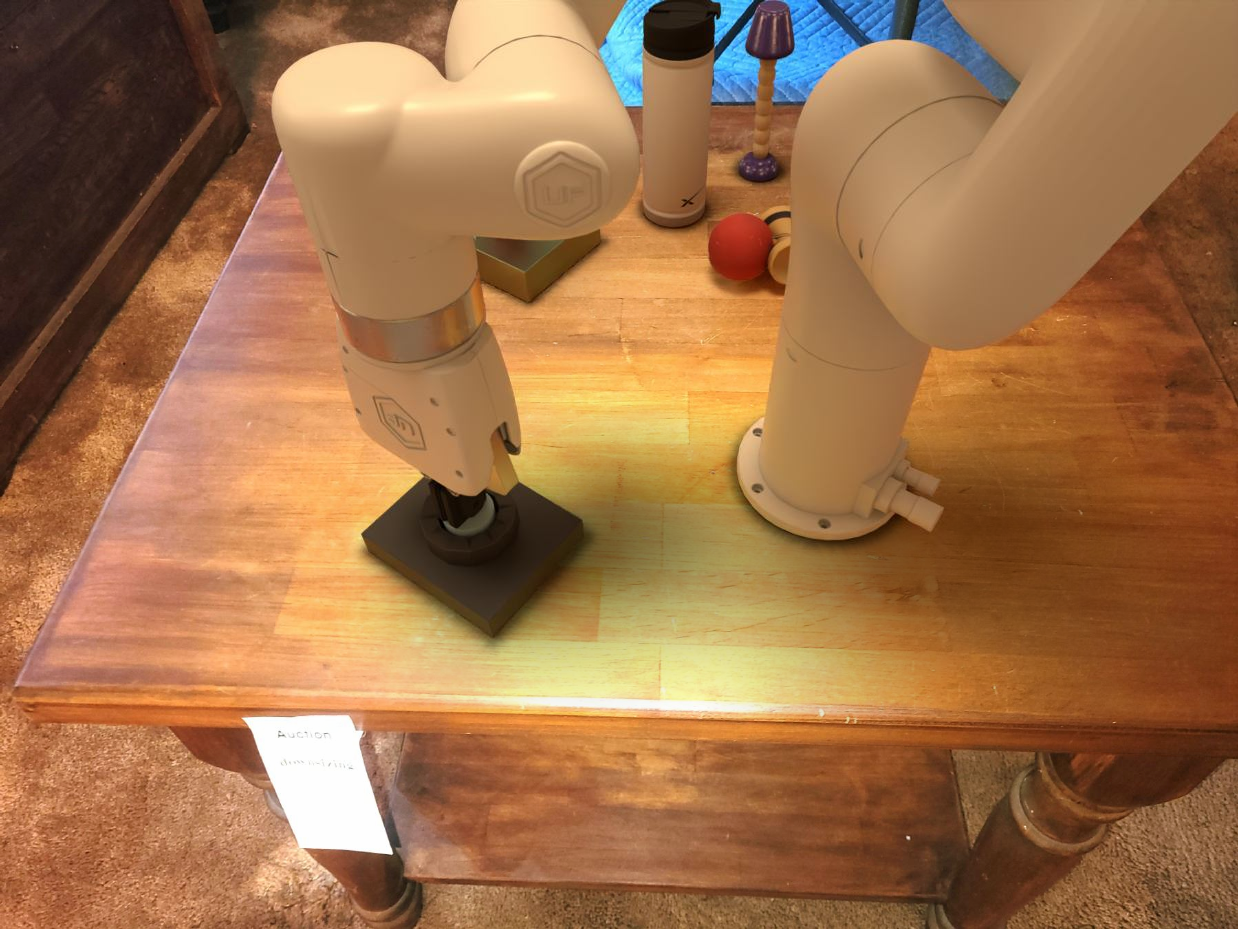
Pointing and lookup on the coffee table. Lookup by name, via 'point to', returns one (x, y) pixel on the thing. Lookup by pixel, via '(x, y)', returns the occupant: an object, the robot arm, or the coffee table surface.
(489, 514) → the button
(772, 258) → the kendama
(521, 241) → the panel
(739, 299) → the coffee table surface
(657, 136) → the travel mug
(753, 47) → the toy lamp
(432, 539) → the button box
